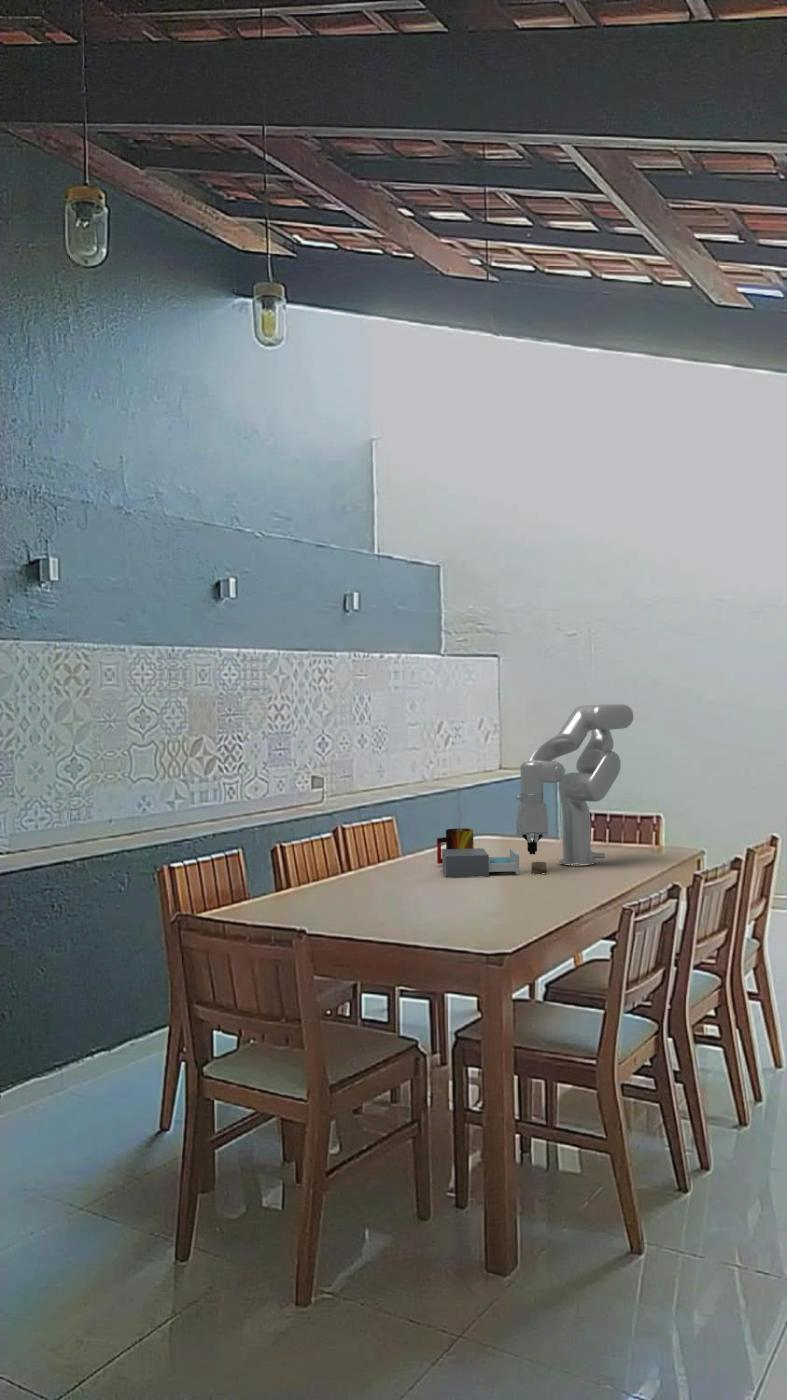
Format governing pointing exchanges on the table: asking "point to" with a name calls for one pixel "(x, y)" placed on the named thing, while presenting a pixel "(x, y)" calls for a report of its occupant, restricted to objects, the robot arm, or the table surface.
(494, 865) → the grey drawer
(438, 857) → the mug
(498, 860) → the disc
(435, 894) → the table surface
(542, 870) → the brown short rounded cylinder
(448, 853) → the housing
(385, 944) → the table surface
